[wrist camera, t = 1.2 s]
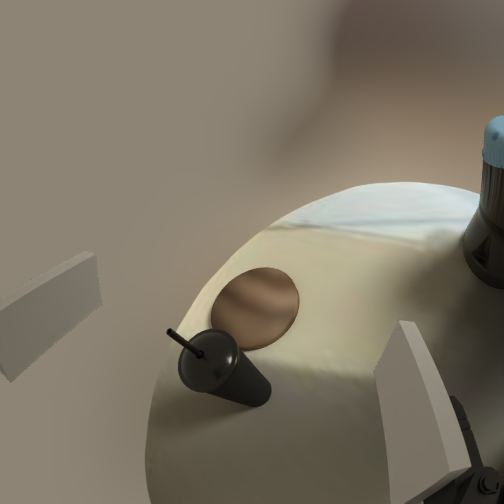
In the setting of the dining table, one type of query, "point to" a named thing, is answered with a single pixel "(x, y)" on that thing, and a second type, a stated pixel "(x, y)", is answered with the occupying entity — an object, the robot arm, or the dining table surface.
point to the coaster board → (256, 307)
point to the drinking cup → (220, 368)
